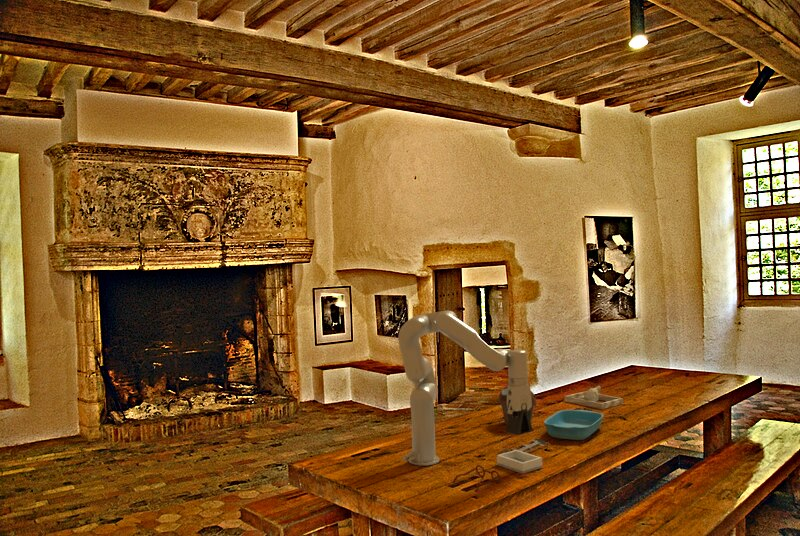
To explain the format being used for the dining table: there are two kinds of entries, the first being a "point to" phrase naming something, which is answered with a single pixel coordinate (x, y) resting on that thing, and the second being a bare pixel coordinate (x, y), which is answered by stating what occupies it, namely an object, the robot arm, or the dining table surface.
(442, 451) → the dining table surface
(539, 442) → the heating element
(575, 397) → the cheese board rim
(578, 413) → the casserole dish
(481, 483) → the glasses
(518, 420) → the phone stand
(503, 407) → the brown bucket
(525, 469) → the cream rectangular tray
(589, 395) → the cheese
